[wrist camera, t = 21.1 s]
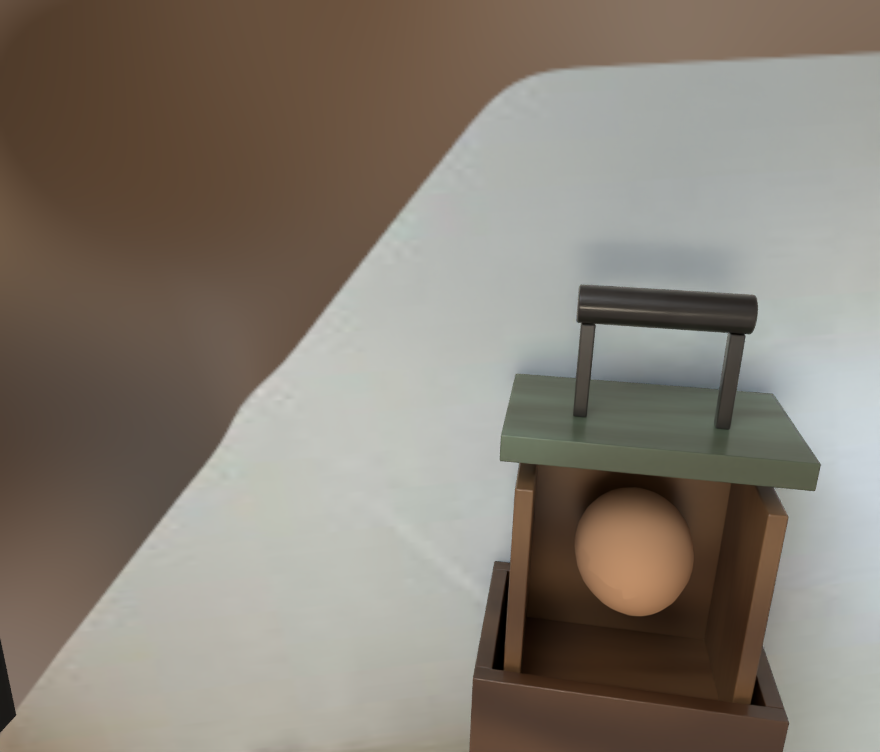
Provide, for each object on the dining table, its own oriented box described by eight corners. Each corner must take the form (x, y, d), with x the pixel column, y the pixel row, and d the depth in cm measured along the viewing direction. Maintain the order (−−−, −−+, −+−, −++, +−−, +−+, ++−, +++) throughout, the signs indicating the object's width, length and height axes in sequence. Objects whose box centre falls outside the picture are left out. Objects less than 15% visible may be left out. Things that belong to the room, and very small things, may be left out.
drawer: (522, 259, 36) (508, 297, 29) (795, 274, 35) (852, 318, 27) (501, 612, 43) (485, 714, 36) (727, 641, 41) (759, 754, 34)
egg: (654, 575, 40) (669, 666, 33) (558, 534, 40) (554, 618, 33) (703, 491, 38) (729, 571, 31) (601, 449, 38) (606, 520, 31)
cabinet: (494, 560, 43) (472, 678, 34) (744, 589, 41) (789, 722, 32) (483, 770, 49) (461, 919, 40) (703, 805, 47) (733, 970, 38)
